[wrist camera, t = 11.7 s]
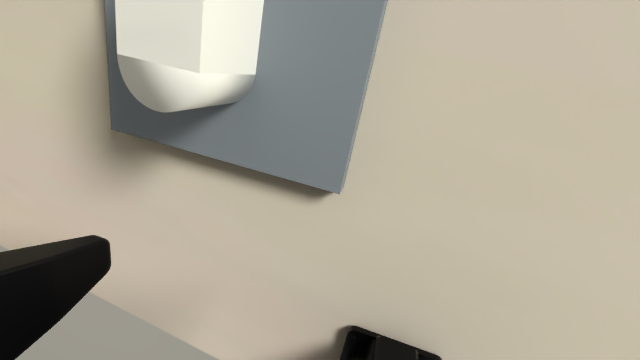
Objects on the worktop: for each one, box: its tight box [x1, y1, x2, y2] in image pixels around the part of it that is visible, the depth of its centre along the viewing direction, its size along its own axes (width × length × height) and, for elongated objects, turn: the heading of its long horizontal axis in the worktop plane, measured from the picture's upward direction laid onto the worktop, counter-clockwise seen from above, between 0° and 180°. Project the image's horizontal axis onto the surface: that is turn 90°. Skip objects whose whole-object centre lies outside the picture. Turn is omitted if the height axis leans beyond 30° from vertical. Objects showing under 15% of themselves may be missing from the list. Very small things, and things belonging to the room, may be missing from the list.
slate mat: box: [104, 0, 388, 194], centre depth 17 cm, size 16×16×1 cm
